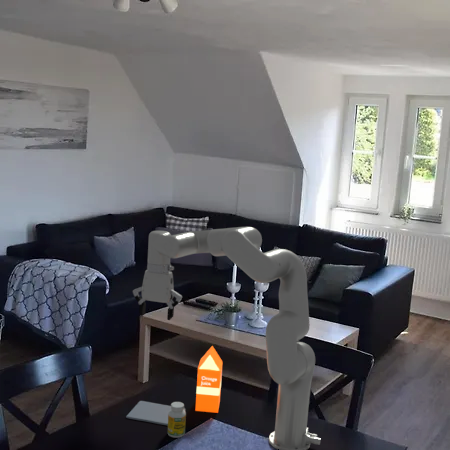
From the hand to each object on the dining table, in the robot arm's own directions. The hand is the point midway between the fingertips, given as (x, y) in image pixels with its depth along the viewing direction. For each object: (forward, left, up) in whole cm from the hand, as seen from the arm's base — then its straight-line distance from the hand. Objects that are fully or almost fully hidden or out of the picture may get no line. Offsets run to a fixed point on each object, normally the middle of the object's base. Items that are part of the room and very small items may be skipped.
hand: (156, 317), depth 215 cm
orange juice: (-20, 0, -29) cm, 35 cm away
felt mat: (-6, +12, -28) cm, 32 cm away
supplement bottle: (-16, +22, -29) cm, 40 cm away
